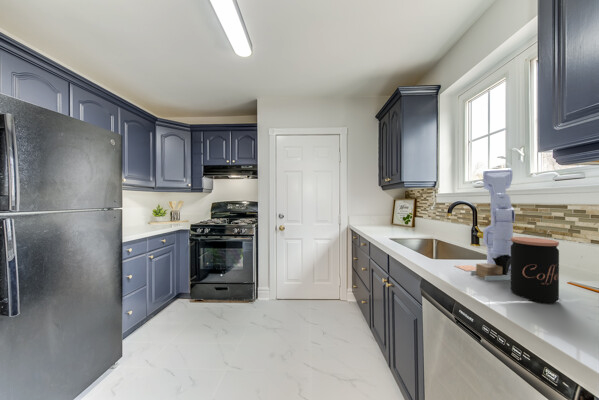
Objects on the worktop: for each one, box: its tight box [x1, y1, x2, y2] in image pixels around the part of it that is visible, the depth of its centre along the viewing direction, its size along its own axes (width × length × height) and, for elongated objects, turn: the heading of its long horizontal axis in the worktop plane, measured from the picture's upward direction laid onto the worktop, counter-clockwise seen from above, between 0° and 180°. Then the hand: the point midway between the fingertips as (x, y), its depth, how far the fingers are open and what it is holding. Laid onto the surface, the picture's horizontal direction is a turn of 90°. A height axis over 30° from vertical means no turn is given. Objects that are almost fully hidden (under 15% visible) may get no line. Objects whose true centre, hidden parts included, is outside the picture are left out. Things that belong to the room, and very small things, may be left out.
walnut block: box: [475, 262, 503, 278], centre depth 90 cm, size 6×5×4 cm
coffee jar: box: [510, 236, 560, 305], centre depth 73 cm, size 11×11×18 cm
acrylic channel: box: [470, 270, 511, 281], centre depth 90 cm, size 14×7×2 cm, turn 94°
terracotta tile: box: [454, 264, 476, 272], centre depth 101 cm, size 8×7×1 cm
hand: (502, 274), depth 90 cm, fingers closed
